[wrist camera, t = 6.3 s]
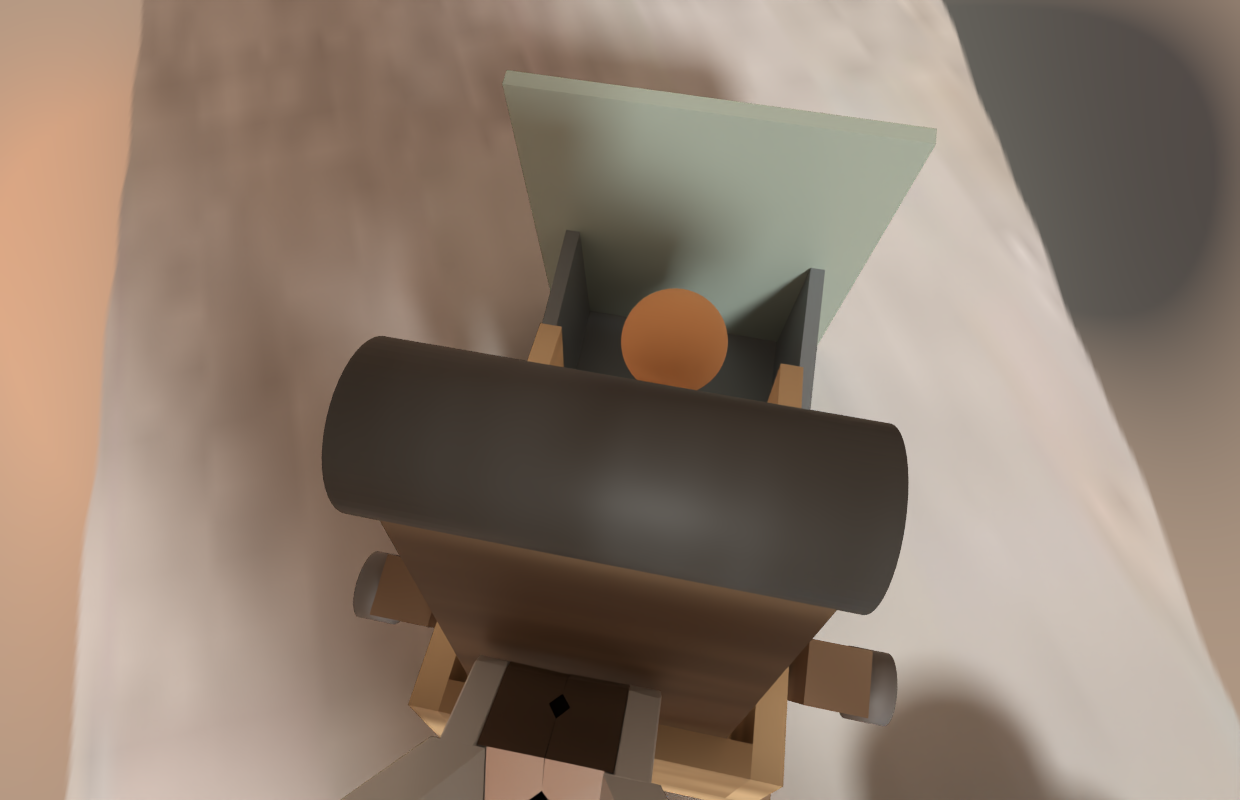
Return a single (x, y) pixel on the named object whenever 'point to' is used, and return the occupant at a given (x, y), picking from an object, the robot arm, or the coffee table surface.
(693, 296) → the ball
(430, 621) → the stand
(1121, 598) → the coffee table surface
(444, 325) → the coffee table surface
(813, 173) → the bin
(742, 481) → the chute
